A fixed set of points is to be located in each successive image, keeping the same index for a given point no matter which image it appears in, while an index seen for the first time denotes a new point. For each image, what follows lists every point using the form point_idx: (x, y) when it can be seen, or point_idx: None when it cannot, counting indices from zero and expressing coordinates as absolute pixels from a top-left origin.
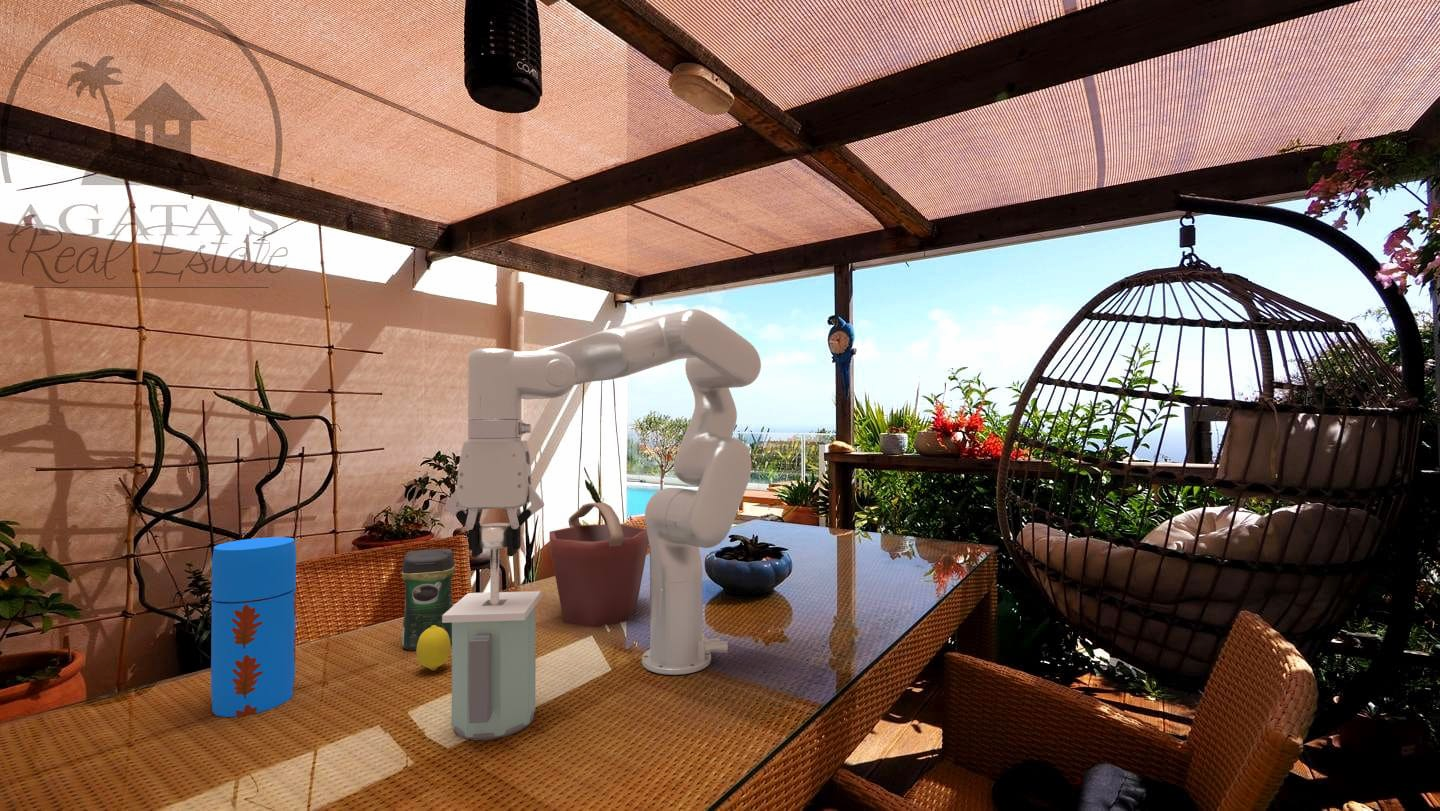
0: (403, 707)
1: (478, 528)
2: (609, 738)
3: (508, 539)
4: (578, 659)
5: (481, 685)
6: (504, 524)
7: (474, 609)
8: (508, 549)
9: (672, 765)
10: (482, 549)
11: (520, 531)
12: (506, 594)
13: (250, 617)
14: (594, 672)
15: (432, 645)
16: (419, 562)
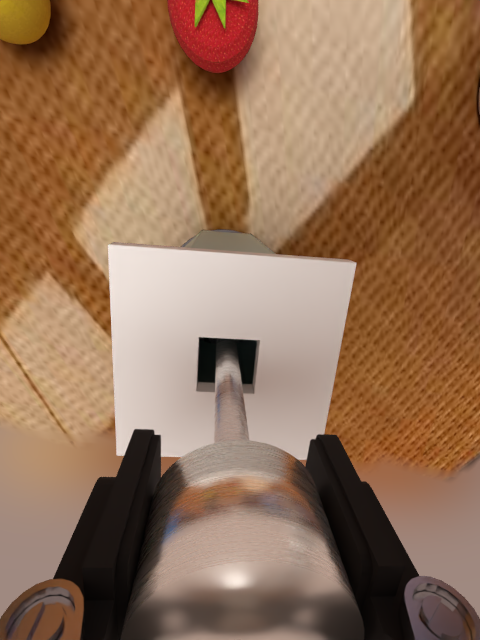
0: (56, 214)
1: (116, 630)
2: (377, 356)
3: None
4: (352, 14)
5: None
6: (316, 626)
7: (186, 420)
8: None
9: (434, 418)
10: (158, 447)
11: (409, 558)
12: (247, 285)
13: None
14: (380, 109)
15: (3, 24)
16: None
